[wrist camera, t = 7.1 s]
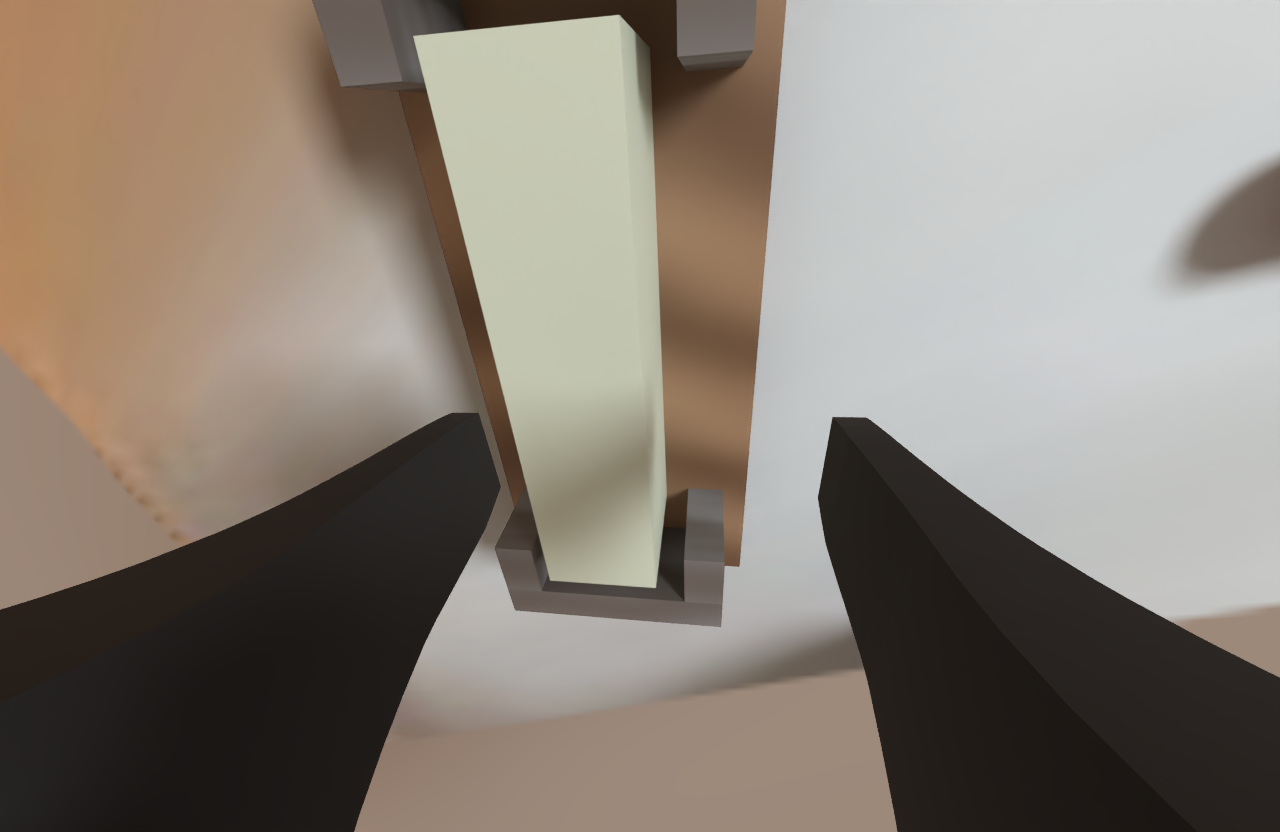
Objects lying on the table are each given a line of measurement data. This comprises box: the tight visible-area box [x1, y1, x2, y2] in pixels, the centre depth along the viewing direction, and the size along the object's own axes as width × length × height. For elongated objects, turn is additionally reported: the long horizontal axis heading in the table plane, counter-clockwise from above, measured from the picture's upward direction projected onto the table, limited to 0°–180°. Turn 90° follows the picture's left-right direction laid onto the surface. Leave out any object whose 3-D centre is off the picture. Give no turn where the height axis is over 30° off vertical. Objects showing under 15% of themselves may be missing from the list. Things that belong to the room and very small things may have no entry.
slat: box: [413, 15, 667, 588], centre depth 15 cm, size 16×4×5 cm, turn 3°
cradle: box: [312, 0, 786, 627], centre depth 16 cm, size 25×11×5 cm, turn 3°
